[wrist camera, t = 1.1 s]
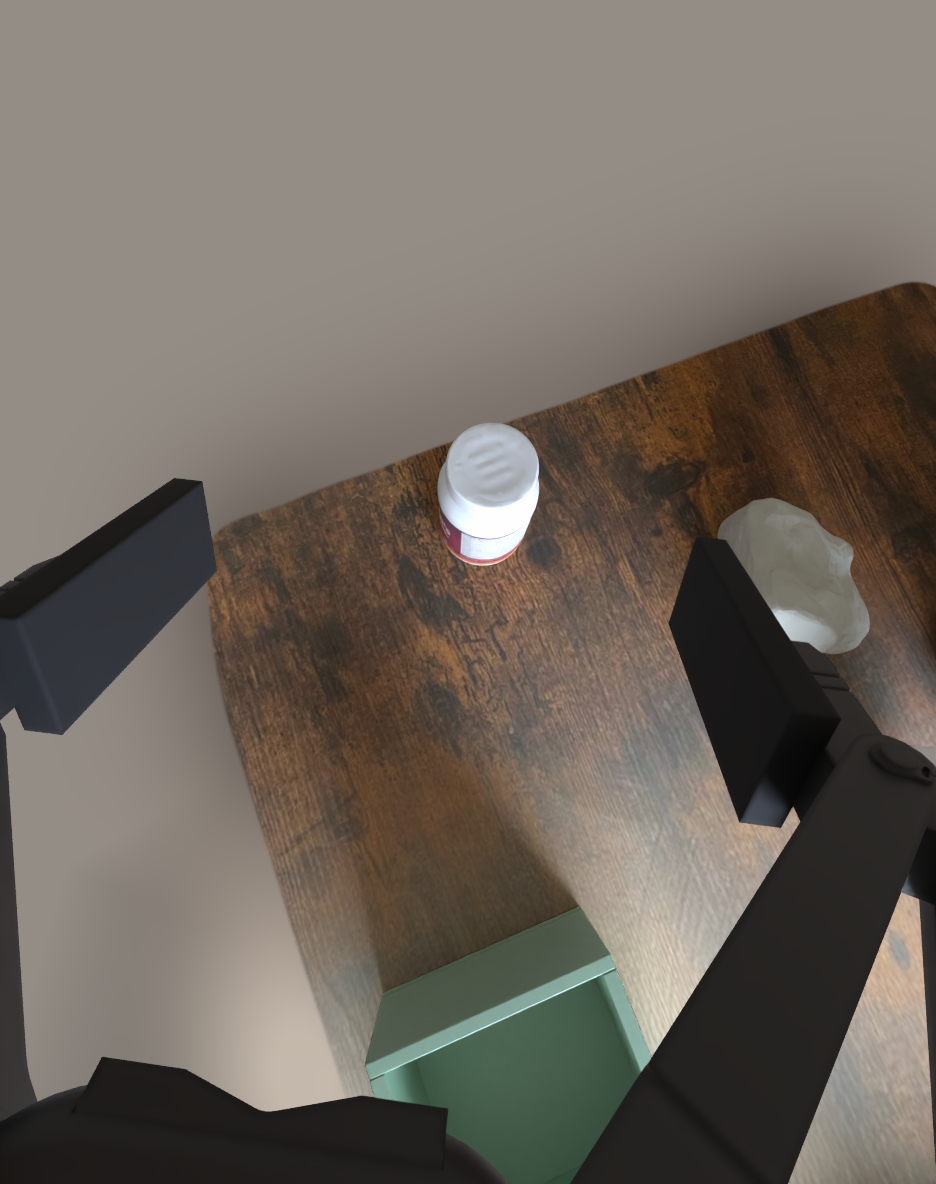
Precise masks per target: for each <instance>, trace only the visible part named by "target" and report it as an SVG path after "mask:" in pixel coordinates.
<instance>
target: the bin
mask: <svg viewBox="0 0 936 1184" xmlns="http://www.w3.org/2000/svg"><path fill="white" fill-rule="evenodd" d="M651 1058H652V1057H651V1054H650V1052H649V1049H648V1047H647V1044H646V1042H645V1039H644V1037H643V1034H642V1032H641V1029H640V1027H639V1024H638V1022H637V1019H636V1017H635V1014H634V1012H633V1009H632V1007H631V1004H630V1002H629V999H628V996H627V994H626V991H625V989H624V986H623V984H622V981H621V979H620V976H619V974H618V971H617V969H616V968H615V964H614V961H613V959H612V956H611V954H610V952H609V951H608V949H607V948H606V946H605V945H604V943H603V941H602V940H601V938H600V937H599V935H598V934H597V932H596V930H595V929H594V927H593V926H592V924H591V923H590V921H589V919H588V918H587V916H586V915H585V913H584V912H583V910H582V908H581V907H580V906H578V907H576V908H574V909H572V910H569V911H567V912H565V913H563V914H560V915H558V916H556V917H554V918H551V919H549V920H547V921H544V922H542V923H540V924H538V925H535V926H533V927H531V928H529V929H526V930H524V931H522V932H520V933H517V934H515V935H513V936H510V937H508V938H506V939H504V940H501V941H499V942H497V943H495V944H492V945H490V946H488V947H486V948H483V949H481V950H479V951H477V952H474V953H472V954H470V955H467V956H465V957H463V958H461V959H458V960H456V961H454V962H452V963H449V964H447V965H445V966H443V967H440V968H438V969H436V970H434V971H431V972H429V973H427V974H424V975H422V976H420V977H418V978H415V979H413V980H411V981H409V982H406V983H404V984H402V985H400V986H397V987H395V988H393V989H391V990H388V991H386V992H384V993H383V994H382V998H381V1002H380V1006H379V1010H378V1014H377V1018H376V1022H375V1026H374V1030H373V1034H372V1038H371V1041H370V1045H369V1049H368V1053H367V1057H366V1061H365V1067H366V1071H367V1074H368V1077H369V1079H370V1084H371V1087H372V1090H373V1093H374V1097H375V1098H381V1099H388V1100H395V1101H402V1102H408V1103H415V1104H422V1105H428V1106H435V1107H442V1108H448V1117H447V1128H446V1133H447V1134H449V1135H451V1136H452V1137H454V1138H456V1139H458V1140H460V1141H462V1142H463V1143H465V1144H467V1145H468V1146H469V1147H471V1148H472V1149H473V1150H474V1151H476V1152H477V1153H478V1154H480V1155H481V1156H482V1157H484V1158H485V1159H486V1160H487V1161H488V1162H489V1163H490V1164H491V1165H492V1166H493V1167H494V1168H495V1169H496V1170H497V1171H498V1172H499V1173H500V1174H501V1175H502V1176H503V1177H504V1178H505V1180H506V1181H507V1182H508V1184H570V1183H571V1181H572V1180H573V1178H574V1177H575V1175H576V1173H577V1172H578V1170H579V1169H580V1167H581V1166H582V1164H583V1162H584V1161H585V1159H586V1158H587V1156H588V1155H589V1153H590V1151H591V1150H592V1148H593V1147H594V1145H595V1143H596V1142H597V1140H598V1139H599V1137H600V1136H601V1134H602V1132H603V1131H604V1129H605V1128H606V1126H607V1125H608V1123H609V1121H610V1120H611V1118H612V1117H613V1115H614V1113H615V1112H616V1110H617V1109H618V1107H619V1106H620V1104H621V1102H622V1101H623V1099H624V1098H625V1096H626V1095H627V1093H628V1091H629V1090H630V1088H631V1087H632V1085H633V1084H634V1082H635V1081H636V1079H637V1077H638V1076H639V1075H640V1073H641V1072H642V1070H643V1069H644V1067H645V1066H646V1065H647V1064H648V1062H649V1061H650V1059H651Z"/></svg>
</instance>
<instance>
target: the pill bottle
mask: <svg viewBox="0 0 936 1184" xmlns="http://www.w3.org/2000/svg"><path fill="white" fill-rule="evenodd" d="M538 473H539V462H538V457H537V454H536V451H535V449H534V447H533V445H532V444H531V442H530V441H529V439H528V438H527V437H526V436H525V435H523V434H522V433H521V432H520V431H518V430H517V429H515V428H513V427H511V426H508V425H505V424H501V423H482V424H478V425H475V426H472V427H470V428H468V429H467V430H465V431H464V432H462V433H461V434H460V435H459V436H458V437H457V438H456V439H455V440H454V442H453V443H452V445H451V447H450V449H449V451H448V454H447V458H446V461H445V463H444V465H443V466H442V469H441V471H440V474H439V478H438V503H439V519H440V530H441V534H442V538H443V540H444V542H445V544H446V546H447V547H448V549H449V550H450V551H451V552H452V553H453V554H454V555H455V556H456V557H458V558H459V559H461V560H462V561H464V562H467V563H470V564H474V565H492V564H496V563H498V562H501V561H503V560H505V559H506V558H507V557H509V556H510V555H511V554H512V553H513V552H514V551H515V550H516V549H517V547H518V546H519V544H520V542H521V540H522V539H523V536H524V534H525V531H526V529H527V527H528V524H529V522H530V519H531V517H532V514H533V512H534V510H535V508H536V504H537V501H538V495H539V482H538Z"/></svg>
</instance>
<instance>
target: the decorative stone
mask: <svg viewBox="0 0 936 1184" xmlns="http://www.w3.org/2000/svg"><path fill="white" fill-rule="evenodd" d="M717 537H718V539H723V540H726V541H727V542H728V544H729V545H730V547H731V549H732V550H733V552H734V553H735V555H736V556H737V558H738V559H739V561H740V562H741V564H742V566H743V567H744V569H745V570H746V572H747V573H748V575H749V576H750V578H751V580H752V581H753V583H754V584H755V586H756V587H757V589H758V590H759V592H760V593H761V595H762V597H763V598H764V600H765V601H766V603H767V604H768V606H769V607H770V609H771V610H772V612H773V614H774V615H775V617H776V618H777V620H778V621H779V623H780V624H781V626H782V628H783V629H784V631H785V632H786V634H787V635H788V637H789V638H790V640H791V641H799V642H808V643H809V644H811V645H812V646H813V647H815V648H816V649H817V650H818V651H820V652H821V653H827V654H840V653H844V652H847V651H850V650H853V649H854V648H856V647H857V646H858V645H859V644H860V643H861V641H862V639H863V638H864V637H865V636H866V634H867V633H868V631H869V628H870V620H869V614H868V610H867V608H866V606H865V603H864V602H863V600H862V598H861V596H860V594H859V592H858V590H857V587H856V585H855V583H854V581H853V579H852V577H851V572H850V564H851V562H852V560H853V548H852V546H851V545H850V544H849V543H847V542H845V541H844V540H842V539H841V538H839V537H835V536H833V535H832V534H830V533H829V532H827V531H826V530H825V529H824V528H822V527H821V526H820V524H819V523H818V521H817V520H816V519H815V518H814V516H813V515H812V514H811V513H809V512H806V511H804V510H802V509H800V508H797V507H795V506H793V505H791V504H789V503H787V502H785V501H782V500H779V499H775V498H768V499H763V500H755V501H752V502H750V503H749V504H748V505H746V506H745V507H742V508H741V509H739V510H737V511H736V512H734V513H733V514H732V515H730V516H729V517H727V518H726V519H725V520H724V521H723V522H722V523H721V525H720V527H719V531H718V535H717Z"/></svg>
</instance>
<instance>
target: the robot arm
mask: <svg viewBox="0 0 936 1184" xmlns="http://www.w3.org/2000/svg"><path fill="white" fill-rule="evenodd" d="M216 571H217V568H216V562H215V556H214V549H213V543H212V537H211V531H210V526H209V519H208V513H207V507H206V501H205V495H204V489H203V483H202V481H195V480H186V479H176V478H174V479H172V480H171V481H169V482H168V483H166V484H165V485H163V486H162V487H161V488H159V489H158V490H156V491H155V492H153V493H152V494H150V495H149V496H147V497H146V498H144V499H143V500H141V501H140V502H138V503H137V504H135V505H134V506H132V507H131V508H129V509H128V510H126V511H125V512H123V513H122V514H121V515H119V516H118V517H116V518H115V519H113V520H112V521H110V522H109V523H107V524H106V525H104V526H103V527H101V528H100V529H98V530H97V531H95V532H94V533H92V534H91V535H90V536H88V537H86V538H85V539H84V540H82V541H80V542H79V543H78V544H76V545H75V546H73V547H72V548H70V549H69V550H67V551H66V552H64V553H63V554H61V555H60V556H57V557H54V558H52V559H49V560H47V561H44V562H41V563H39V564H36V565H33V566H32V567H30V568H29V569H28V570H26V571H24V572H23V573H21V574H20V575H18V576H17V577H15V578H14V581H9V582H7V583H6V584H4V585H3V586H1V587H0V720H1V719H2V718H3V717H4V716H5V715H6V714H8V713H9V712H10V711H11V710H12V709H13V708H14V707H15V709H16V712H17V714H18V716H19V719H20V720H21V723H22V726H23V728H24V730H28V731H35V732H43V733H52V734H59V735H63V734H64V732H65V731H66V730H67V729H68V728H69V727H70V726H71V725H72V724H73V723H74V722H75V721H76V720H77V719H78V718H79V717H80V716H81V714H82V713H83V712H84V711H85V710H86V709H87V708H88V707H89V706H90V705H91V704H92V703H93V702H94V701H95V700H96V698H98V696H99V695H100V694H101V693H102V692H103V691H104V690H105V689H106V688H107V687H108V686H109V685H110V684H111V683H112V682H113V680H115V678H116V677H117V676H118V675H119V674H120V673H121V672H122V671H123V670H124V669H125V668H126V667H127V666H128V665H129V664H130V662H131V661H132V660H133V659H134V658H135V657H136V656H137V655H138V654H139V653H140V652H141V651H142V650H143V649H144V648H145V647H146V646H147V644H148V643H149V642H150V641H151V640H152V639H153V638H154V637H155V636H156V635H157V634H158V633H159V632H160V631H161V630H162V628H163V627H164V626H165V625H166V624H167V623H168V622H169V621H170V620H171V619H172V618H173V617H174V616H175V615H176V614H177V613H178V612H179V610H180V609H181V608H182V607H183V606H184V605H185V604H186V603H187V602H188V601H189V600H190V599H191V598H192V596H194V594H196V593H197V591H198V590H199V589H200V588H201V587H202V586H203V585H204V584H205V583H206V582H207V581H208V580H209V579H210V578H211V577H212V576H213V574H214V573H215V572H216ZM669 626H670V629H671V632H672V635H673V637H674V640H675V643H676V646H677V649H678V651H679V654H680V657H681V660H682V663H683V665H684V668H685V671H686V674H687V677H688V679H689V682H690V685H691V688H692V691H693V693H694V696H695V699H696V702H697V705H698V707H699V710H700V713H701V716H702V719H703V721H704V724H705V727H706V730H707V733H708V736H709V738H710V741H711V744H712V747H713V750H714V752H715V755H716V758H717V761H718V764H719V766H720V769H721V772H722V775H723V778H724V780H725V783H726V786H727V789H728V792H729V794H730V797H731V800H732V803H733V806H734V808H735V811H736V814H737V817H738V820H739V822H741V823H748V824H756V825H764V826H772V827H779V828H781V827H782V825H783V823H784V821H785V819H786V818H787V816H788V814H789V812H790V810H791V809H792V807H794V809H795V811H796V813H797V815H798V817H799V820H800V824H799V825H798V827H797V828H796V830H795V832H794V833H793V835H792V836H791V838H790V839H789V841H788V843H787V844H786V846H785V847H784V849H783V851H782V852H781V854H780V855H779V857H778V858H777V860H776V862H775V863H774V865H773V866H772V868H771V870H770V871H769V873H768V874H767V876H766V877H765V879H764V881H763V882H762V884H761V885H760V887H759V889H758V890H757V892H756V893H755V895H754V896H753V898H752V900H751V901H750V903H749V904H748V906H747V908H746V909H745V911H744V912H743V914H742V915H741V917H740V919H739V920H738V922H737V923H736V925H735V927H734V928H733V930H732V931H731V933H730V934H729V936H728V938H727V939H726V941H725V942H724V944H723V946H722V947H721V949H720V950H719V952H718V953H717V955H716V957H715V958H714V960H713V961H712V963H711V965H710V966H709V968H708V969H707V971H706V973H705V974H704V976H703V977H702V979H701V980H700V982H699V984H698V985H697V987H696V988H695V990H694V992H693V993H692V995H691V996H690V998H689V999H688V1001H687V1003H686V1004H685V1006H684V1007H683V1009H682V1011H681V1012H680V1014H679V1015H678V1017H677V1018H676V1020H675V1022H674V1023H673V1025H672V1026H671V1028H670V1030H669V1031H668V1033H667V1034H666V1036H665V1037H664V1039H663V1041H662V1042H661V1044H660V1045H659V1047H658V1049H657V1050H656V1052H655V1053H654V1055H653V1056H652V1058H651V1059H650V1061H649V1062H648V1064H647V1065H646V1066H645V1067H644V1069H643V1070H642V1072H641V1073H640V1075H639V1076H638V1077H637V1079H636V1081H635V1082H634V1084H633V1085H632V1087H631V1088H630V1090H629V1091H628V1093H627V1095H626V1096H625V1098H624V1099H623V1101H622V1102H621V1104H620V1106H619V1107H618V1109H617V1110H616V1112H615V1113H614V1115H613V1117H612V1118H611V1120H610V1121H609V1123H608V1125H607V1126H606V1128H605V1129H604V1131H603V1132H602V1134H601V1136H600V1137H599V1139H598V1140H597V1142H596V1143H595V1145H594V1147H593V1148H592V1150H591V1151H590V1153H589V1155H588V1156H587V1158H586V1159H585V1161H584V1162H583V1164H582V1166H581V1167H580V1169H579V1170H578V1172H577V1173H576V1175H575V1177H574V1178H573V1180H572V1181H571V1183H570V1184H788V1183H789V1180H790V1177H791V1174H792V1172H793V1169H794V1166H795V1164H796V1161H797V1159H798V1156H799V1154H800V1151H801V1148H802V1146H803V1143H804V1141H805V1138H806V1136H807V1133H808V1130H809V1128H810V1125H811V1123H812V1120H813V1118H814V1115H815V1112H816V1110H817V1107H818V1105H819V1102H820V1100H821V1097H822V1094H823V1092H824V1089H825V1087H826V1084H827V1082H828V1079H829V1076H830V1074H831V1071H832V1069H833V1066H834V1064H835V1061H836V1058H837V1056H838V1053H839V1051H840V1048H841V1046H842V1043H843V1040H844V1038H845V1035H846V1033H847V1030H848V1028H849V1025H850V1022H851V1020H852V1017H853V1015H854V1012H855V1010H856V1007H857V1004H858V1002H859V999H860V997H861V994H862V992H863V989H864V986H865V984H866V981H867V979H868V976H869V974H870V971H871V968H872V966H873V963H874V961H875V958H876V956H877V953H878V950H879V948H880V945H881V943H882V940H883V938H884V935H885V932H886V930H887V927H888V925H889V922H890V920H891V917H892V914H893V912H894V909H895V907H896V904H897V902H898V899H899V896H900V894H901V892H903V893H905V894H908V895H910V896H913V897H915V898H918V899H919V903H920V919H921V935H922V951H923V968H924V984H925V1000H926V1016H927V1032H928V1049H929V1065H930V1081H931V1097H932V1113H933V1130H934V1146H935V1162H936V767H935V765H934V764H933V763H932V762H931V761H930V760H929V759H927V758H926V757H925V756H924V755H923V754H922V753H921V752H919V751H917V750H916V749H914V748H912V747H911V746H909V745H908V744H906V743H904V742H901V741H899V740H896V739H894V738H891V737H889V736H885V735H882V734H881V732H880V731H879V729H878V728H877V727H876V725H875V724H874V722H873V721H872V719H871V718H870V717H869V715H868V714H867V712H866V711H865V710H864V708H863V707H862V705H861V704H860V702H859V701H858V700H857V698H856V697H855V695H854V694H853V693H852V692H849V690H850V688H849V687H848V686H847V684H846V683H845V681H844V680H843V678H840V674H839V673H838V671H837V670H836V669H835V667H834V666H833V664H832V663H831V661H830V660H829V659H828V658H827V657H826V656H825V655H823V654H822V653H821V652H820V651H818V650H817V649H816V648H815V647H813V646H812V645H811V644H809V643H808V642H799V641H791V640H790V638H789V637H788V635H787V634H786V632H785V631H784V629H783V628H782V626H781V624H780V623H779V621H778V620H777V618H776V617H775V615H774V614H773V612H772V610H771V609H770V607H769V606H768V604H767V603H766V601H765V600H764V598H763V597H762V595H761V593H760V592H759V590H758V589H757V587H756V586H755V584H754V583H753V581H752V580H751V578H750V576H749V575H748V573H747V572H746V570H745V569H744V567H743V566H742V564H741V562H740V561H739V559H738V558H737V556H736V555H735V553H734V552H733V550H732V549H731V547H730V545H729V544H728V542H727V541H726V540H723V539H714V538H705V537H696V538H695V542H694V545H693V548H692V551H691V554H690V557H689V561H688V564H687V567H686V570H685V573H684V577H683V580H682V583H681V586H680V589H679V592H678V596H677V599H676V602H675V605H674V608H673V611H672V615H671V618H670V621H669ZM13 859H14V858H13V843H12V827H11V811H10V796H9V780H8V765H7V749H6V735H5V732H4V730H3V728H2V726H1V724H0V1184H508V1182H507V1181H506V1180H505V1178H504V1177H503V1176H502V1175H501V1174H500V1173H499V1172H498V1171H497V1170H496V1169H495V1168H494V1167H493V1166H492V1165H491V1164H490V1163H489V1162H488V1161H487V1160H486V1159H485V1158H484V1157H482V1156H481V1155H480V1154H478V1153H477V1152H476V1151H474V1150H473V1149H472V1148H471V1147H469V1146H468V1145H467V1144H465V1143H463V1142H462V1141H460V1140H458V1139H456V1138H454V1137H452V1136H451V1135H449V1134H447V1133H446V1128H447V1117H448V1108H442V1107H435V1106H428V1105H422V1104H415V1103H408V1102H402V1101H395V1100H388V1099H381V1098H375V1097H368V1096H357V1097H352V1098H346V1099H340V1100H335V1101H329V1102H323V1103H318V1104H312V1105H307V1106H301V1107H295V1108H290V1109H284V1110H279V1111H272V1112H265V1111H261V1110H258V1109H256V1108H254V1107H252V1106H250V1105H248V1104H247V1103H245V1102H243V1101H241V1100H240V1099H238V1098H236V1097H234V1096H232V1095H231V1094H229V1093H227V1092H225V1091H224V1090H222V1089H220V1088H218V1087H216V1086H215V1085H213V1084H211V1083H209V1082H207V1081H206V1080H204V1079H202V1078H200V1077H198V1076H197V1075H195V1074H193V1073H191V1072H189V1071H188V1070H186V1069H180V1068H174V1067H167V1066H160V1065H153V1064H147V1063H140V1062H133V1061H127V1060H120V1059H112V1058H107V1057H102V1058H101V1060H100V1062H99V1064H98V1066H97V1068H96V1070H95V1071H94V1073H93V1075H92V1077H91V1079H90V1081H89V1083H88V1085H85V1086H80V1087H77V1088H73V1089H70V1090H67V1091H64V1092H60V1093H57V1094H54V1095H52V1096H50V1097H47V1098H45V1099H43V1100H41V1101H38V1102H37V1099H36V1096H35V1093H34V1090H33V1086H32V1083H31V1080H30V1077H29V1072H28V1067H27V1058H26V1045H25V1030H24V1014H23V999H22V983H21V967H20V952H19V937H18V921H17V906H16V890H15V875H14V860H13Z"/></svg>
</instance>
